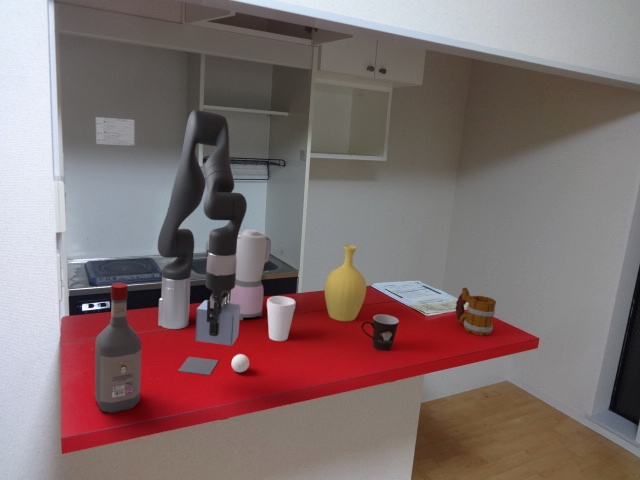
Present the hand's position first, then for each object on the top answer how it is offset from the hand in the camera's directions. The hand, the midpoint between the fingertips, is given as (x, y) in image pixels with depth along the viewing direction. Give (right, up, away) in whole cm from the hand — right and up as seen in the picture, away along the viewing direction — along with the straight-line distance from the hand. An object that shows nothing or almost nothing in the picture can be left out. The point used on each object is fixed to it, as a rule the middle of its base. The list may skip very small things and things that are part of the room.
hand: (217, 329), depth 132 cm
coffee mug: (+47, -13, +39) cm, 62 cm away
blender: (0, -4, +56) cm, 56 cm away
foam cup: (+13, -10, +38) cm, 41 cm away
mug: (+87, -11, +64) cm, 108 cm away
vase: (+36, -6, +63) cm, 73 cm away
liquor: (-23, -16, -9) cm, 29 cm away
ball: (+4, -12, +11) cm, 17 cm away
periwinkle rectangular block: (0, -2, +1) cm, 2 cm away
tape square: (-8, -13, +12) cm, 19 cm away
